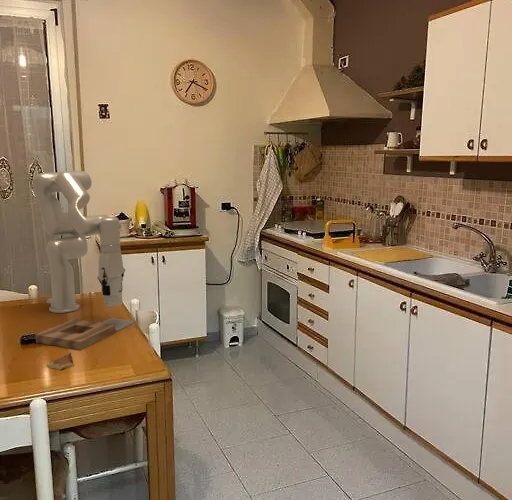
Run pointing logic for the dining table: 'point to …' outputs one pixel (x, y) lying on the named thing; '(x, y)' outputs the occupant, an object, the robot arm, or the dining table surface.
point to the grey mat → (118, 323)
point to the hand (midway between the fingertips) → (112, 292)
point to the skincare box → (114, 292)
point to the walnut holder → (67, 339)
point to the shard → (61, 362)
